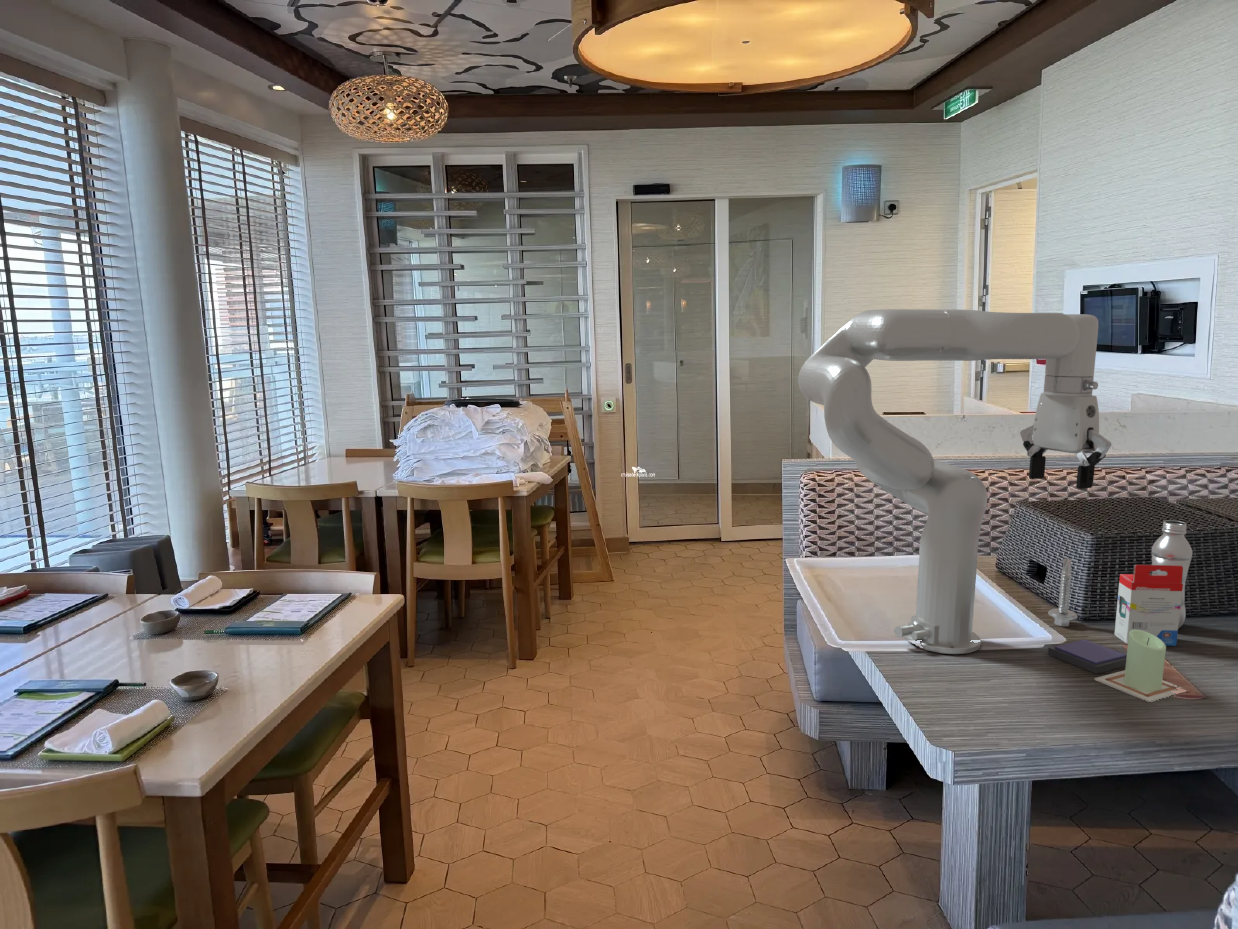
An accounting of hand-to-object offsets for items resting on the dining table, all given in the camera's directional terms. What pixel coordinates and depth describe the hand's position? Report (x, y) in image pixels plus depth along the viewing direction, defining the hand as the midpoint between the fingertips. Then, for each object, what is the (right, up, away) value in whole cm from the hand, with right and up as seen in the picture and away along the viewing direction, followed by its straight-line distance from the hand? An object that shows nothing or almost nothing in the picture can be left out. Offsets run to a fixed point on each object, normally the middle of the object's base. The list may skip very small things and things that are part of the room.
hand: (1059, 483), depth 150 cm
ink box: (+16, -28, +2) cm, 33 cm away
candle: (+4, -31, -17) cm, 36 cm away
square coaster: (+4, -31, -17) cm, 36 cm away
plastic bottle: (+24, -27, +9) cm, 37 cm away
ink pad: (+2, -30, -6) cm, 30 cm away
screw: (+6, -27, +10) cm, 29 cm away
